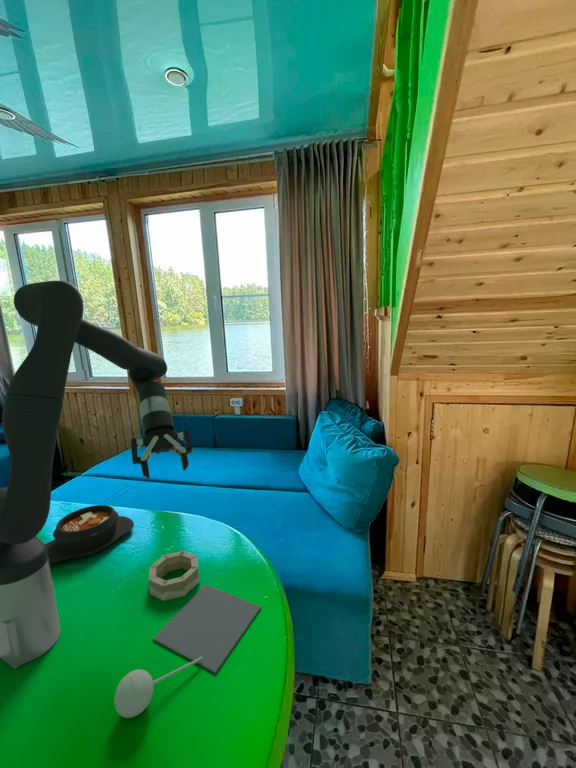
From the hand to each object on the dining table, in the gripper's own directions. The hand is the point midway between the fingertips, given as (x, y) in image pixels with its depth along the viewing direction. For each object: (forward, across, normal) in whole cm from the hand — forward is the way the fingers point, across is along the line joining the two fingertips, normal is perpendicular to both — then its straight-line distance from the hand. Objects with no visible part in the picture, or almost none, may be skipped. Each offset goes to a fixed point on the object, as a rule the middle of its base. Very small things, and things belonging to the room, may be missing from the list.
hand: (166, 473), depth 80 cm
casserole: (0, -21, +41) cm, 46 cm away
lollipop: (+37, +1, +2) cm, 37 cm away
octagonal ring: (+21, -1, +19) cm, 28 cm away
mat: (+32, +4, +8) cm, 34 cm away
